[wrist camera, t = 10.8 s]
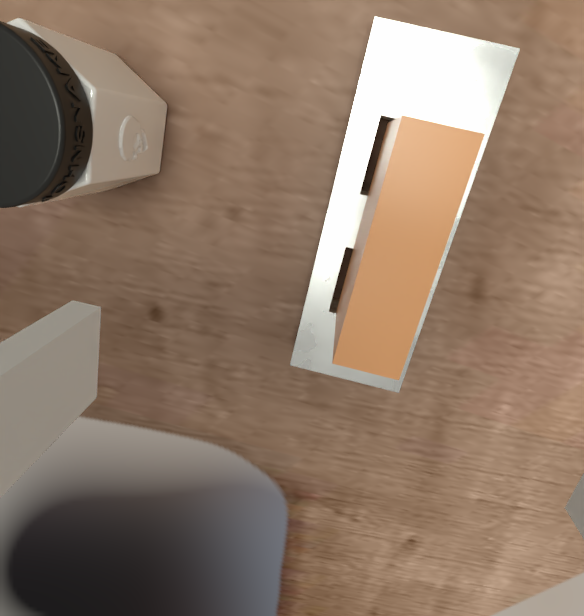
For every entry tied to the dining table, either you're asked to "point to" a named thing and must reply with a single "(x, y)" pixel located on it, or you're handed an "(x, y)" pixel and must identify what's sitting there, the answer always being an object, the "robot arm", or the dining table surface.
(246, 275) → the dining table surface
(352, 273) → the tan notched block
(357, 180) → the grey slotted block
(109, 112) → the jar
